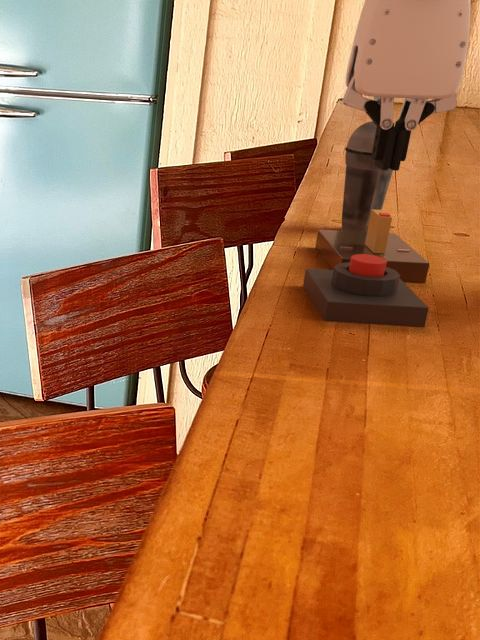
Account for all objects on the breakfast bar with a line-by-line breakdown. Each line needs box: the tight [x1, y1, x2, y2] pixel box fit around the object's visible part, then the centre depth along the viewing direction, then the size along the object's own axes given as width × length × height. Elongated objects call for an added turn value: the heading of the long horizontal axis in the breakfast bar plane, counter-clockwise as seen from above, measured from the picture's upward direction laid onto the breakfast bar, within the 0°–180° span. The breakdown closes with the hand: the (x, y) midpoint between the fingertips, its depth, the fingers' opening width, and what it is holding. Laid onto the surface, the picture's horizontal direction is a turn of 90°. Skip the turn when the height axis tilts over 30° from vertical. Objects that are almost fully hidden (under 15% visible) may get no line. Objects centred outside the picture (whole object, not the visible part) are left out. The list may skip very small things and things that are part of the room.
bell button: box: [348, 254, 387, 277], centre depth 95 cm, size 4×4×2 cm
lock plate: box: [314, 229, 431, 284], centre depth 112 cm, size 10×14×3 cm
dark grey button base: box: [302, 262, 430, 328], centre depth 96 cm, size 10×12×4 cm
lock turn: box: [365, 209, 393, 254], centre depth 108 cm, size 4×1×5 cm, turn 173°
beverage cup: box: [340, 120, 394, 232], centre depth 124 cm, size 7×7×20 cm
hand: (386, 167), depth 91 cm, fingers closed
